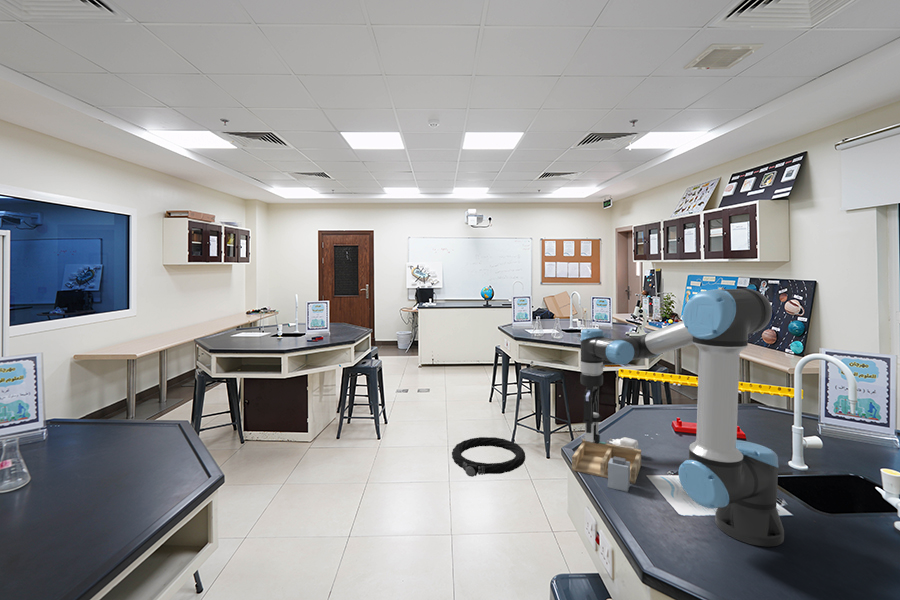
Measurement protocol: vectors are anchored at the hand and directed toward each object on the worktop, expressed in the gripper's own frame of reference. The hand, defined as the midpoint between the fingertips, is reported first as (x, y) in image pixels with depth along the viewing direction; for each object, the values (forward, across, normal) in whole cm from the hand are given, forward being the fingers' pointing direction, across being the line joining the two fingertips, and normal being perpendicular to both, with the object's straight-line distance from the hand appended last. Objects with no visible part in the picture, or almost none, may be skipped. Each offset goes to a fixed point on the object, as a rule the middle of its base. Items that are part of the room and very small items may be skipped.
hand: (591, 438), depth 152 cm
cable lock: (+11, -12, +35) cm, 39 cm away
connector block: (+11, -9, -11) cm, 18 cm away
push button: (+1, -1, 0) cm, 1 cm away
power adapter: (+11, +19, -7) cm, 23 cm away
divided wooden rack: (+11, +3, -5) cm, 12 cm away
